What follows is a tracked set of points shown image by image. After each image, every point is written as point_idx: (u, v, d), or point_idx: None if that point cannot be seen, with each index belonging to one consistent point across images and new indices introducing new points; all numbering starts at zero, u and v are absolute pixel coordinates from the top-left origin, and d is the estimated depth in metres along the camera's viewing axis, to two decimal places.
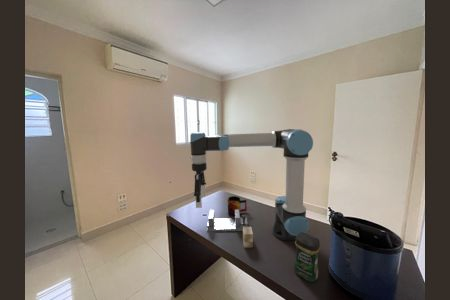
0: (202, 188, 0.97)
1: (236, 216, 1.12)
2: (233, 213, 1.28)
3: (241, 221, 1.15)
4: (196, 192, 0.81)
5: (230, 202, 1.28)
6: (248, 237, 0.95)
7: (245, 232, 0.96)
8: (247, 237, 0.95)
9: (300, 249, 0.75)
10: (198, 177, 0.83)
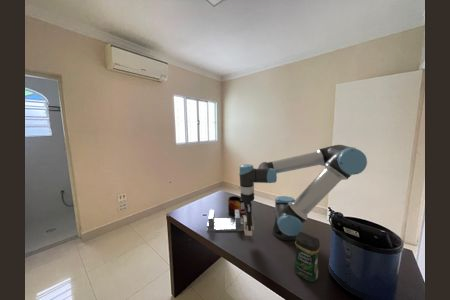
0: None
1: (236, 216, 1.12)
2: (233, 213, 1.28)
3: (241, 221, 1.15)
4: (249, 223, 0.90)
5: (230, 202, 1.28)
6: None
7: (246, 220, 0.95)
8: None
9: (300, 249, 0.75)
10: (250, 210, 0.90)
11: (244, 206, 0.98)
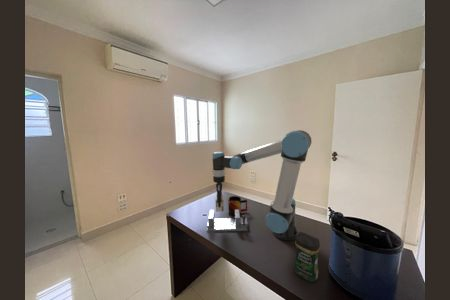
0: None
1: (236, 216, 1.12)
2: (234, 213, 1.28)
3: (241, 221, 1.15)
4: (218, 200, 1.08)
5: (231, 202, 1.28)
6: None
7: None
8: None
9: (300, 249, 0.75)
10: (219, 189, 1.07)
11: None
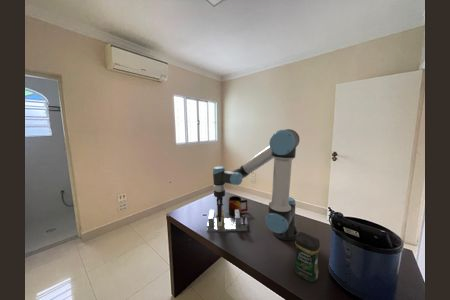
0: (220, 208, 1.23)
1: (236, 216, 1.12)
2: (234, 213, 1.28)
3: (241, 221, 1.15)
4: (218, 214, 1.06)
5: (231, 202, 1.28)
6: None
7: None
8: None
9: (300, 249, 0.75)
10: (220, 202, 1.08)
11: None
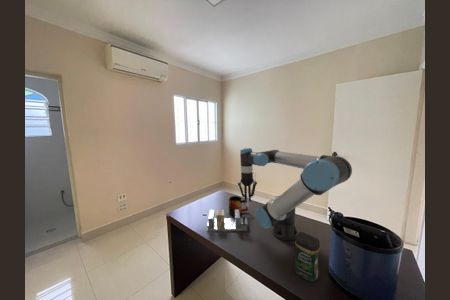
0: None
1: (236, 216, 1.12)
2: (234, 213, 1.28)
3: (241, 221, 1.15)
4: None
5: (231, 202, 1.28)
6: (219, 217, 1.13)
7: (217, 213, 1.14)
8: (219, 217, 1.13)
9: (300, 249, 0.75)
10: None
11: None
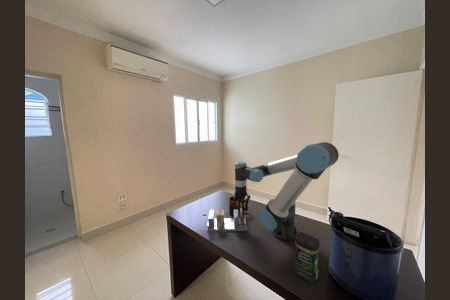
0: None
1: (235, 216, 1.12)
2: None
3: (240, 221, 1.15)
4: None
5: (231, 202, 1.28)
6: (219, 217, 1.13)
7: (217, 213, 1.14)
8: (219, 217, 1.13)
9: (300, 249, 0.75)
10: None
11: None
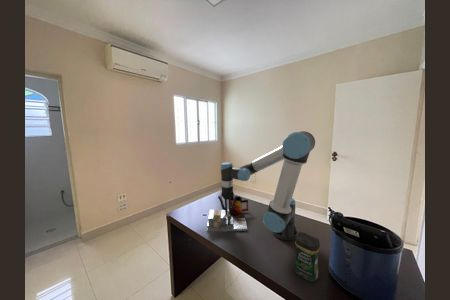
0: None
1: (221, 216, 1.13)
2: (235, 213, 1.28)
3: (227, 221, 1.16)
4: None
5: (232, 202, 1.28)
6: (216, 218, 1.13)
7: (214, 214, 1.14)
8: (216, 217, 1.13)
9: (300, 249, 0.75)
10: None
11: None
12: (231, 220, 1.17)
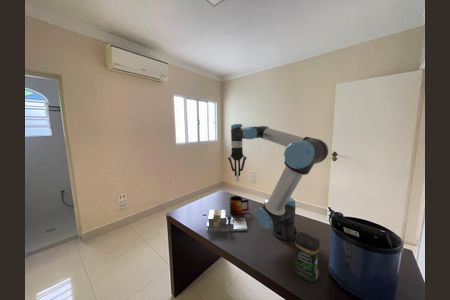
0: None
1: (221, 216, 1.13)
2: (235, 213, 1.28)
3: (227, 221, 1.16)
4: None
5: (232, 202, 1.28)
6: (216, 218, 1.13)
7: (214, 214, 1.14)
8: (216, 217, 1.13)
9: (300, 249, 0.75)
10: None
11: None
12: (231, 220, 1.17)
